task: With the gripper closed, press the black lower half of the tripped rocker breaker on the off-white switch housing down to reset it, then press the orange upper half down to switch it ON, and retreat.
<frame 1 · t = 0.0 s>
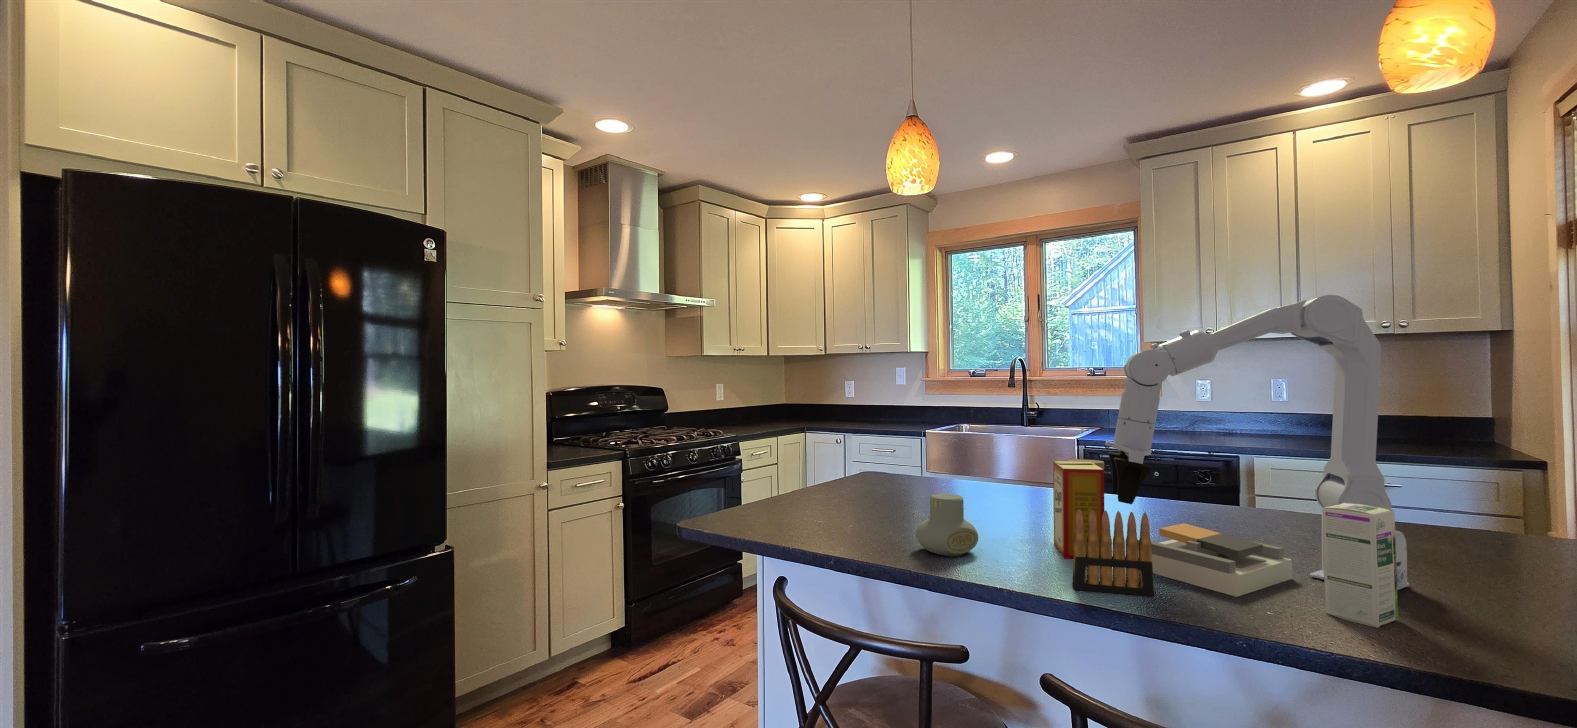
hand: (1122, 498, 111), 11 cm above the countertop, tool pointing down, fingers open, 7 cm apart
breaker rocker: (1209, 539, 104), point 5 cm above the countertop, hinge at -4.0°
ammunition clip: (1112, 593, 95), on the countertop
air freshener: (946, 552, 117), on the countertop
syrup box: (1360, 618, 85), on the countertop
handle: (1086, 540, 124), on the countertop
switch housing: (1209, 572, 104), on the countertop
baking soda box: (1078, 553, 116), on the countertop
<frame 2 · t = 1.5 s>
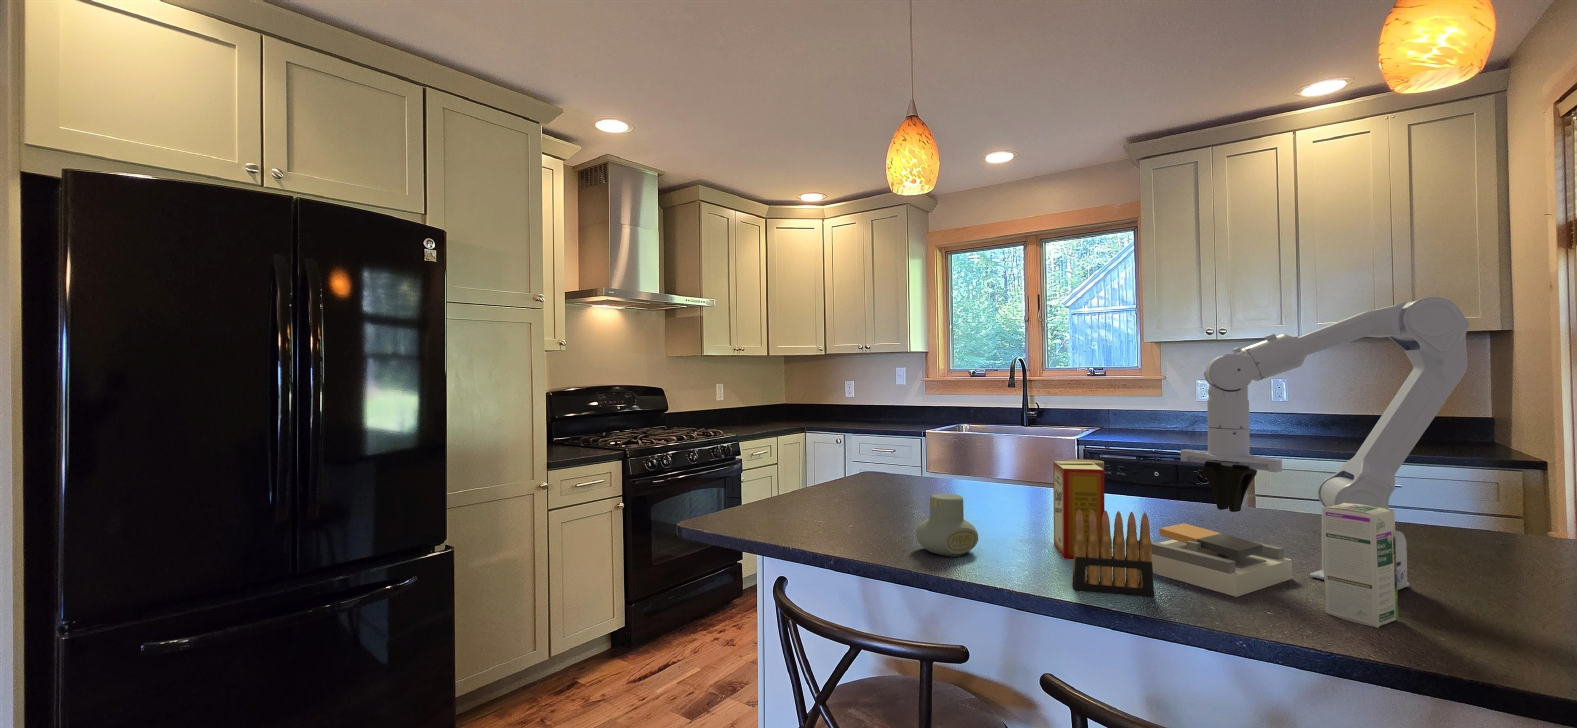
hand: (1228, 509, 107), 9 cm above the countertop, tool pointing down, fingers closed
nothing on the countertop moved.
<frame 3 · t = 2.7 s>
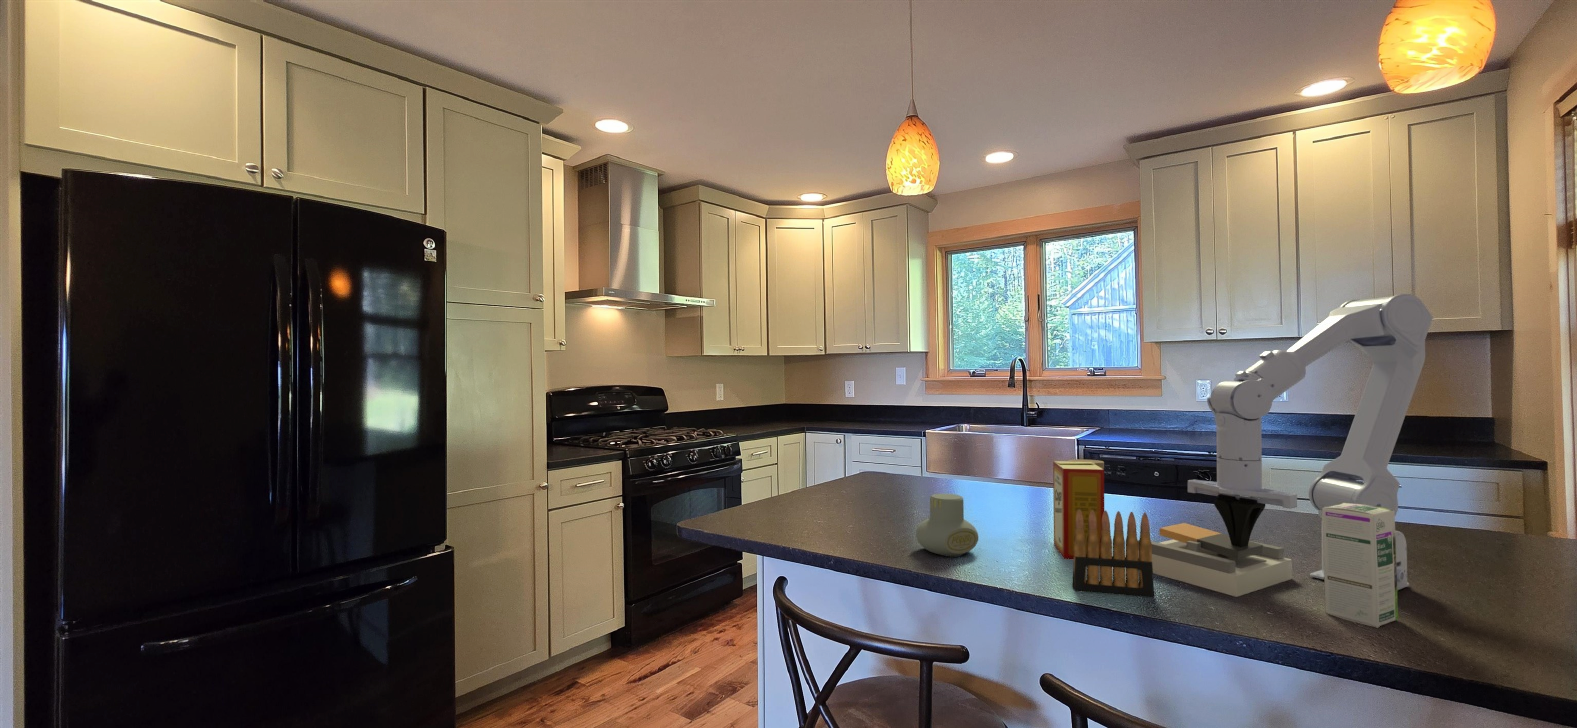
hand: (1239, 546, 100), 5 cm above the countertop, tool pointing down, fingers closed, pressing on breaker rocker
breaker rocker: (1209, 539, 104), point 5 cm above the countertop, hinge at -4.5°, touching gripper
everything else where it was.
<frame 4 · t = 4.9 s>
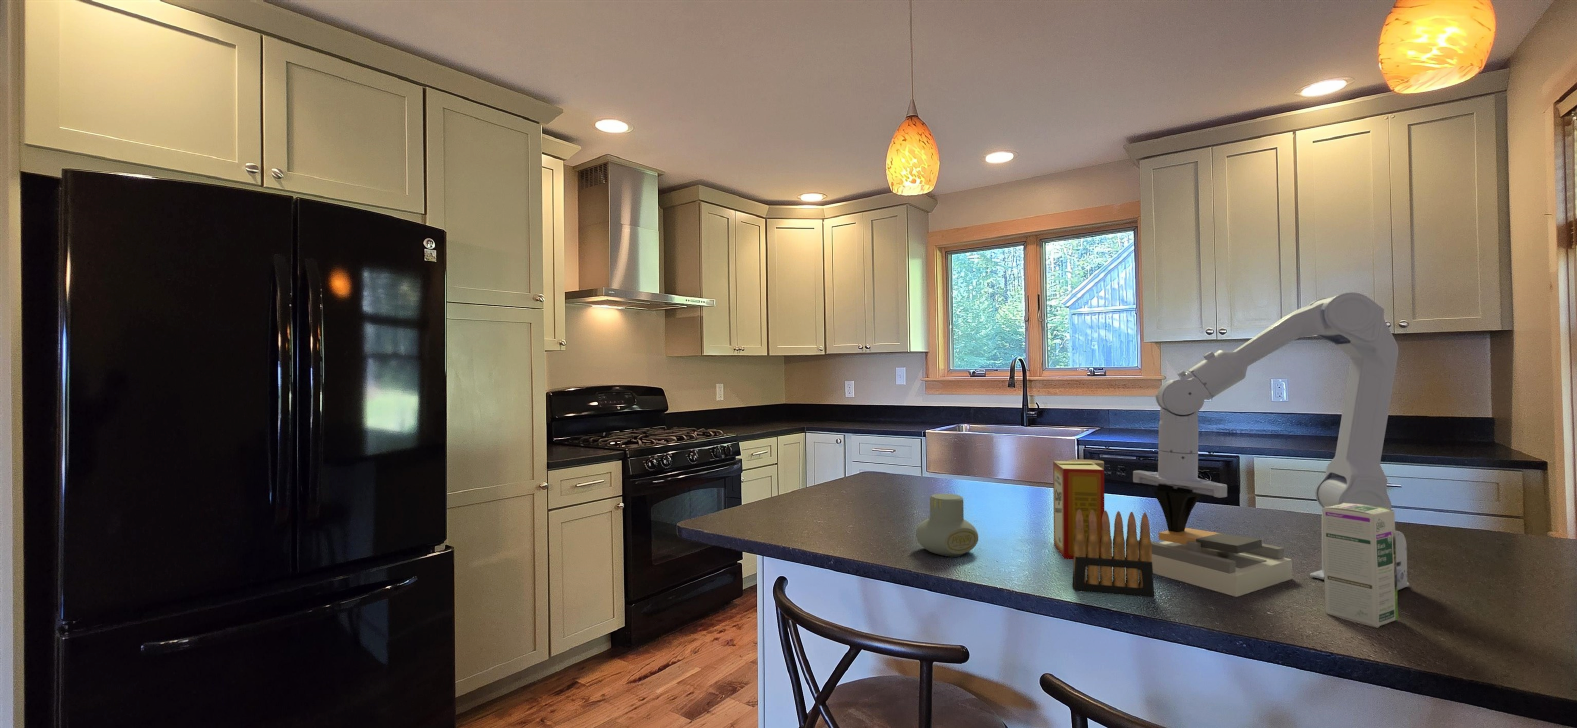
hand: (1176, 532, 108), 5 cm above the countertop, tool pointing down, fingers closed, pressing on breaker rocker
breaker rocker: (1208, 539, 104), point 5 cm above the countertop, hinge at 3.2°, touching gripper
everything else where it was.
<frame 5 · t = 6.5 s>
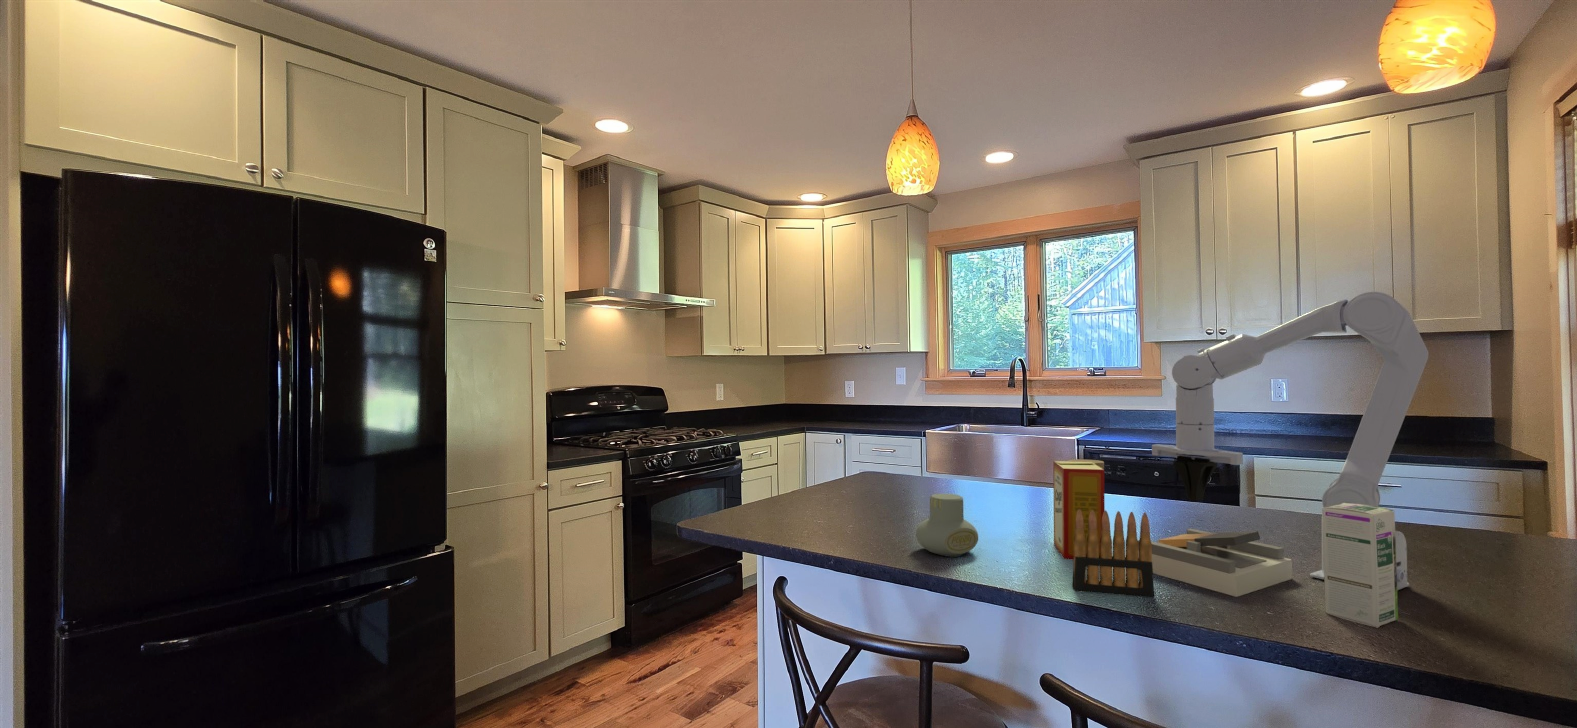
hand: (1195, 500, 114), 9 cm above the countertop, tool pointing down, fingers closed
breaker rocker: (1207, 539, 104), point 5 cm above the countertop, hinge at 14.8°
everything else where it was.
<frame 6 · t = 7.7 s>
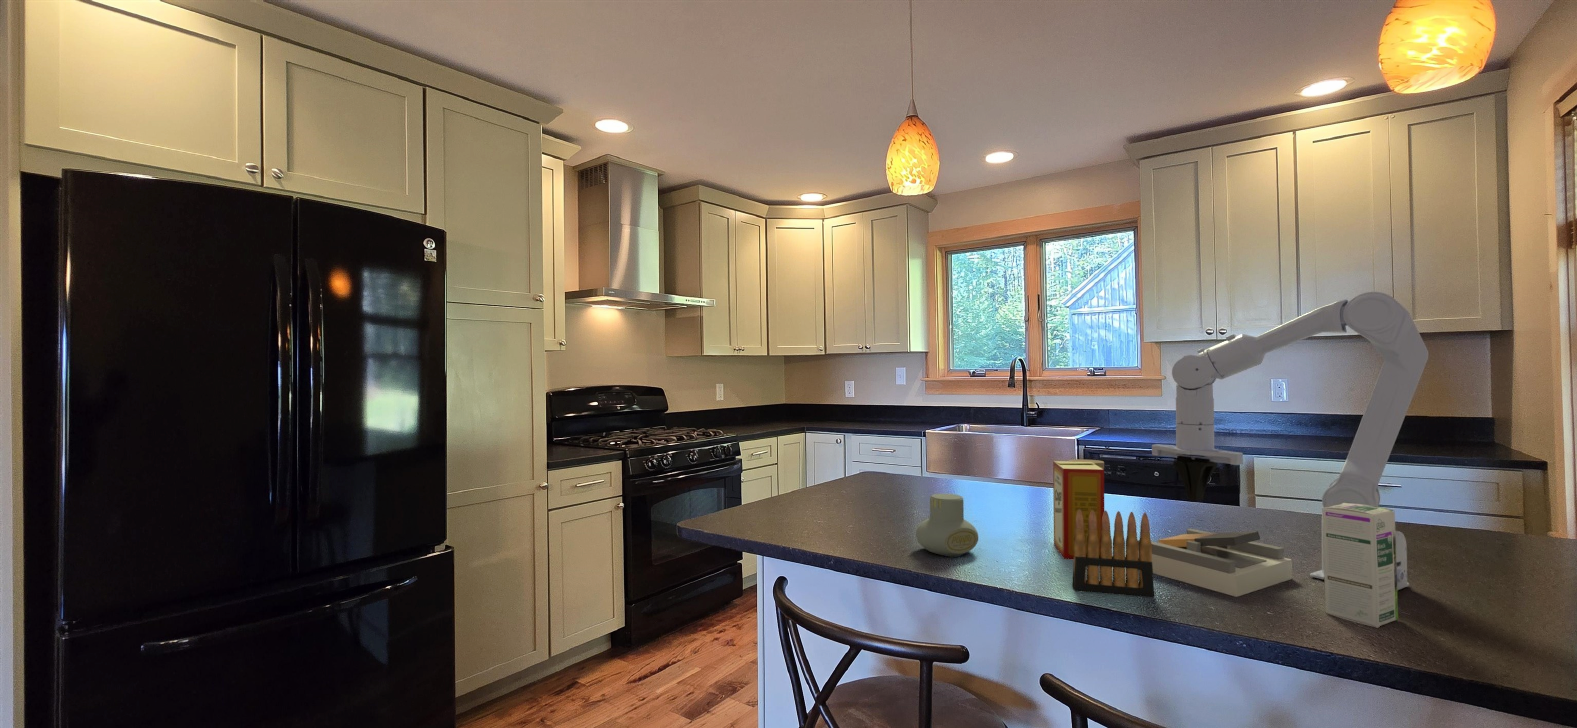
hand: (1195, 500, 114), 9 cm above the countertop, tool pointing down, fingers closed
nothing on the countertop moved.
at the end: breaker rocker at +15° (first picture: -4°) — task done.
